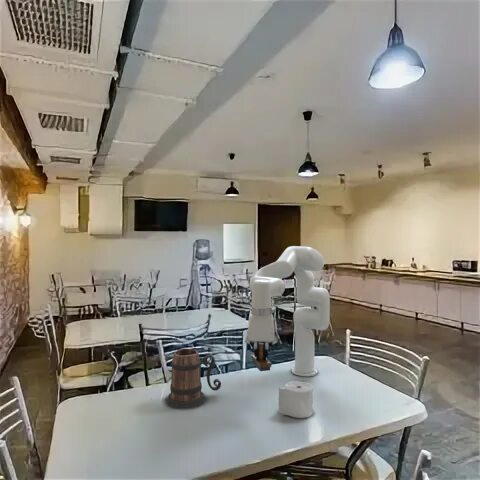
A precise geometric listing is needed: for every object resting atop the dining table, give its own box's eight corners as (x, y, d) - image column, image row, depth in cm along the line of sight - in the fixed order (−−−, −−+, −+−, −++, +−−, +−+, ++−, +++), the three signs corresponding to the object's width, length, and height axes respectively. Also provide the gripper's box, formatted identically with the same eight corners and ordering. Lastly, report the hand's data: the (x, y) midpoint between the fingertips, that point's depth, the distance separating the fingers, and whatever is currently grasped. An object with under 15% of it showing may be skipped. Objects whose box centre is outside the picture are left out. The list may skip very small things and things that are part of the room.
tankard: (169, 411, 158) (169, 360, 158) (161, 394, 174) (161, 348, 173) (227, 402, 167) (227, 354, 166) (214, 387, 183) (214, 342, 182)
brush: (251, 362, 164) (251, 340, 164) (261, 361, 165) (261, 339, 165) (260, 371, 154) (260, 348, 153) (271, 370, 155) (271, 347, 154)
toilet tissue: (318, 411, 159) (318, 386, 159) (299, 422, 150) (300, 395, 150) (295, 403, 166) (296, 379, 166) (277, 413, 158) (277, 387, 157)
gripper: (281, 310, 162) (281, 355, 163) (240, 309, 163) (240, 355, 163) (282, 314, 155) (282, 362, 156) (240, 313, 155) (240, 361, 156)
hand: (260, 358), depth 160 cm, fingers closed on brush, 2 cm apart
